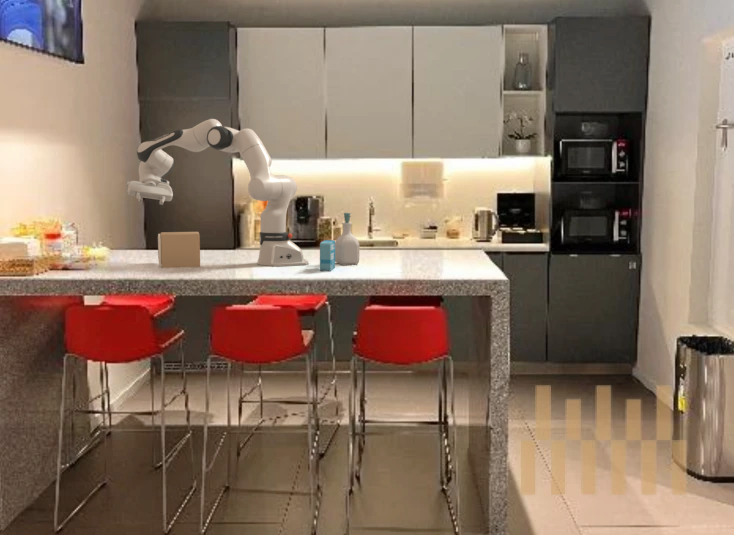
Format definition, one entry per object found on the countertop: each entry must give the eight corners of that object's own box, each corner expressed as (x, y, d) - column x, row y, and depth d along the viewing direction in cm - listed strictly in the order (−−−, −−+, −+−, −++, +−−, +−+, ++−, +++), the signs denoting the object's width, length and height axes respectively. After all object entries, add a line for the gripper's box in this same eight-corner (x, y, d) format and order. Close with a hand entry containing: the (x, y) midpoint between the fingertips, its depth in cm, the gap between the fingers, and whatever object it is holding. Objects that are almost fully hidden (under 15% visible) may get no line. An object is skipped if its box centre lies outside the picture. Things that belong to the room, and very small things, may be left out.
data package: (330, 271, 338) (330, 243, 337) (319, 271, 339) (319, 242, 337) (335, 267, 350) (335, 240, 348) (324, 267, 351) (324, 239, 349)
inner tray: (195, 260, 365) (194, 232, 363) (197, 265, 348) (196, 235, 347) (158, 261, 361) (157, 232, 360) (158, 266, 345) (157, 236, 343)
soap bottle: (340, 265, 357) (340, 213, 353) (333, 263, 365) (333, 212, 362) (360, 264, 360) (361, 213, 357) (353, 262, 369) (353, 211, 366)
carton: (199, 263, 361) (198, 231, 359) (200, 266, 349) (199, 234, 347) (161, 264, 357) (160, 232, 355) (161, 267, 345) (160, 235, 343)
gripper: (128, 174, 374) (129, 193, 365) (172, 181, 383) (174, 200, 373) (125, 185, 378) (126, 204, 368) (169, 192, 387) (171, 210, 377)
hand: (151, 202), depth 371 cm, fingers open, 8 cm apart
